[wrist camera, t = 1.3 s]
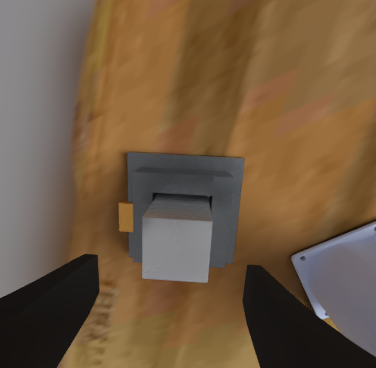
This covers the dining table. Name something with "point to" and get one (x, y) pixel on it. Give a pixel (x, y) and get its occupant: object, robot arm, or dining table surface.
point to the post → (177, 238)
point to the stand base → (184, 184)
